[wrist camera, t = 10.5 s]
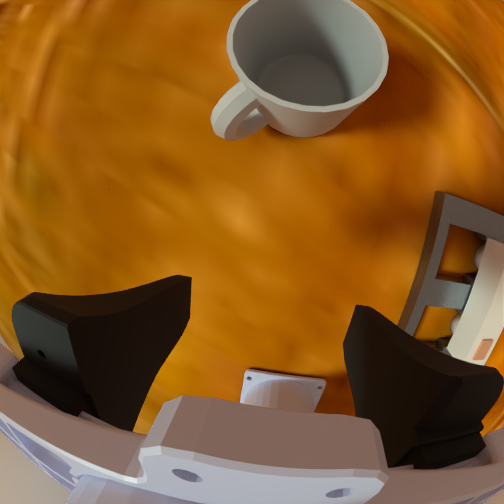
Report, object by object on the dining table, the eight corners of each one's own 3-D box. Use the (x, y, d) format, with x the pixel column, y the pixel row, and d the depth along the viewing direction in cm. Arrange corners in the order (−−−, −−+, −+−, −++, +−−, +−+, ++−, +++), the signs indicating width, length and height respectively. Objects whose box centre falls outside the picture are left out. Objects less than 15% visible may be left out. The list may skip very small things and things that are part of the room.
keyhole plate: (465, 358, 21) (471, 366, 20) (383, 358, 22) (387, 368, 21) (515, 222, 17) (525, 226, 15) (435, 191, 18) (445, 192, 16)
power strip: (461, 339, 21) (484, 367, 16) (439, 338, 21) (461, 369, 16) (497, 240, 18) (531, 256, 12) (476, 232, 18) (511, 249, 13)
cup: (367, 106, 17) (417, 68, 8) (263, 180, 19) (244, 187, 11) (305, 39, 16) (313, -29, 7) (204, 109, 18) (149, 74, 10)
